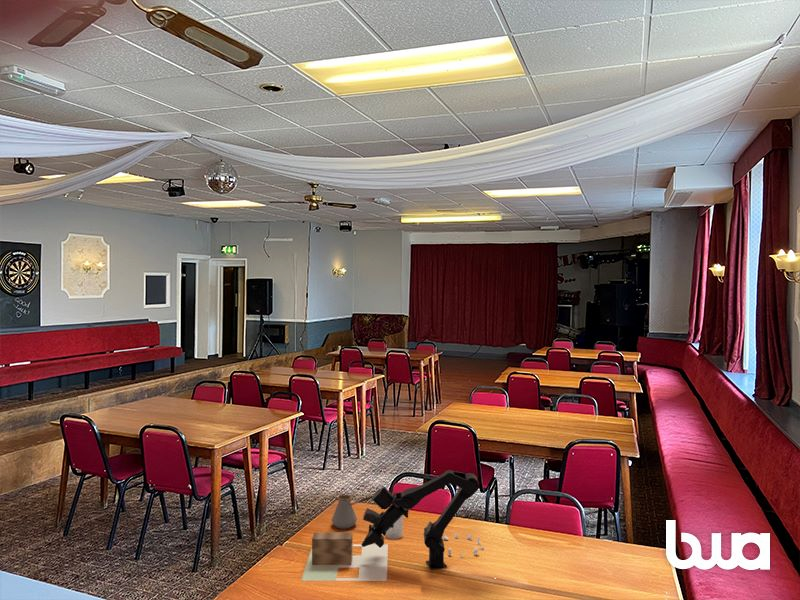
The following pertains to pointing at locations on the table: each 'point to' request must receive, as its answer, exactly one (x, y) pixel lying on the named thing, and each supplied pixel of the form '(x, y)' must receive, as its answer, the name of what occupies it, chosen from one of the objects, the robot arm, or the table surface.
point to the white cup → (396, 530)
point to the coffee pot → (345, 512)
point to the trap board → (353, 566)
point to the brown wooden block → (332, 548)
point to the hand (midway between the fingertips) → (362, 545)
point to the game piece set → (467, 538)
